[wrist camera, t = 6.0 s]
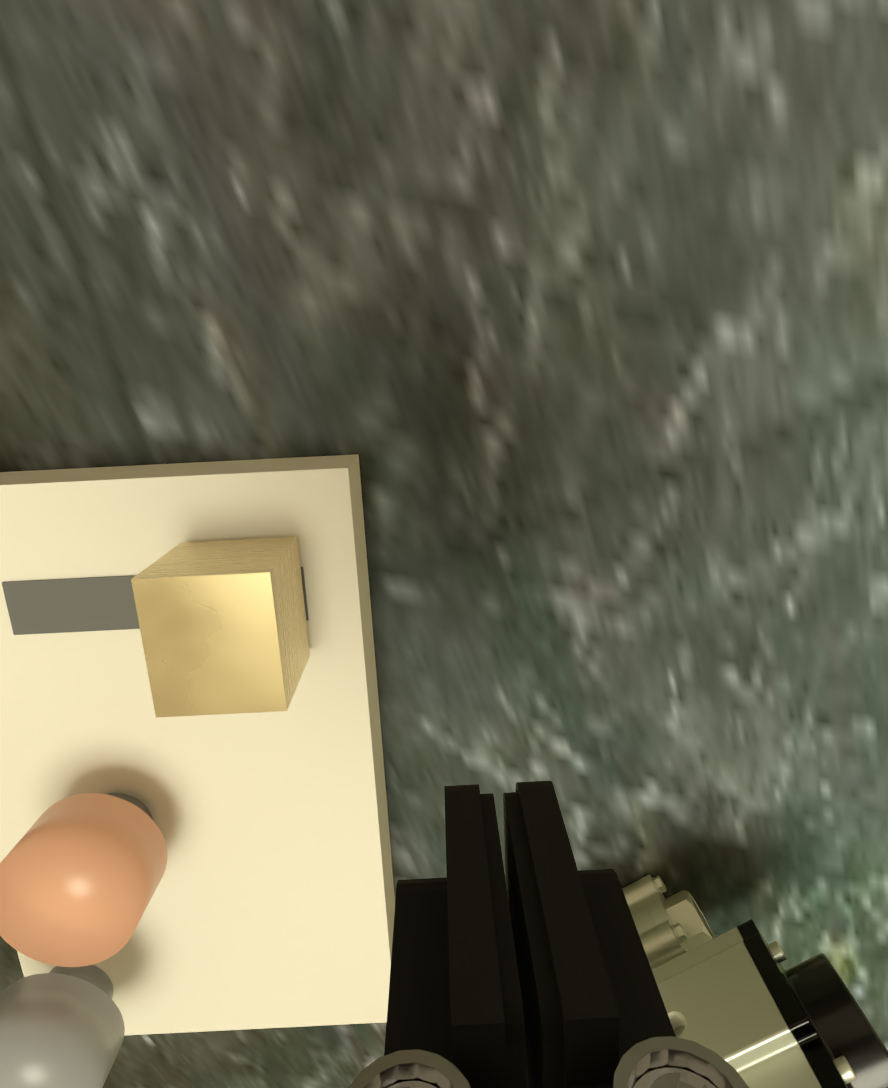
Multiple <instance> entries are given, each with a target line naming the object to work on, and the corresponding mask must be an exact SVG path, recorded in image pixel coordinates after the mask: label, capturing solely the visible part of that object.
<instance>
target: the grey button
mask: <svg viewBox="0 0 888 1088" xmlns="http://www.w3.org/2000/svg"><path fill="white" fill-rule="evenodd" d="M113 993H114V989H113V984H112V981H111V979H110V978H109V976H108V975H107V974H106V973H105V972H104V971H103V970H102V969H100V968H99V967H97V966H95V965H88V966H81V967H61V966H56V967H54V968H53V969H52V970H51V971H50V972H49V973H43V974H35V975H30V976H27V977H24V978H21V979H19V980H17V981H15V982H13V983H12V984H10V985H9V986H8V987H6V988H5V989H4V990H3V991H2V993H1V994H0V1088H102V1087H103V1085H104V1083H105V1080H106V1078H107V1076H108V1074H109V1072H110V1069H111V1067H112V1065H113V1063H114V1061H115V1058H116V1056H117V1054H118V1052H119V1050H120V1047H121V1045H122V1042H123V1039H124V1033H125V1027H124V1021H123V1017H122V1014H121V1012H120V1010H119V1008H118V1007H117V1005H116V1004H115V1002H114V1001H113V1000H112V997H113Z"/></svg>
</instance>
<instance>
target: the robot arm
mask: <svg viewBox="0 0 888 1088" xmlns="http://www.w3.org/2000/svg"><path fill="white" fill-rule="evenodd" d="M503 801H504V835H505V869H506V881H505V874H504V867H503V860H502V853H501V846H500V839H499V832H498V825H497V817H496V810H495V803H494V796H493V794H480V790H479V784H478V785H459V786H445V821H446V859H447V878H431V879H412V880H398V882H397V888H396V900H395V914H394V928H393V942H392V955H391V969H390V983H389V997H388V1011H387V1025H386V1039H385V1053H384V1056H383V1057H380V1058H378V1059H377V1060H375V1061H374V1062H373V1063H371V1064H370V1065H369V1066H367V1067H366V1068H365V1069H363V1070H362V1071H361V1072H360V1073H359V1075H358V1076H357V1077H356V1078H355V1080H354V1081H353V1082H352V1084H351V1085H350V1086H349V1087H348V1088H749V1087H748V1085H747V1084H746V1083H745V1081H744V1080H743V1079H742V1077H741V1076H740V1075H739V1073H738V1072H737V1071H736V1069H735V1068H734V1067H732V1066H731V1065H730V1064H729V1063H728V1062H727V1061H725V1060H724V1059H723V1058H722V1057H721V1056H719V1055H718V1054H717V1053H716V1052H714V1051H712V1050H710V1049H708V1048H706V1047H704V1046H702V1045H700V1044H699V1043H697V1042H695V1041H691V1040H687V1039H682V1038H678V1037H676V1035H675V1033H674V1030H673V1027H672V1024H671V1022H670V1019H669V1016H668V1013H667V1011H666V1008H665V1005H664V1002H663V1000H662V997H661V994H660V991H659V989H658V986H657V983H656V980H655V978H654V975H653V972H652V969H651V967H650V964H649V961H648V958H647V956H646V953H645V950H644V947H643V945H642V942H641V939H640V936H639V934H638V931H637V928H636V925H635V923H634V920H633V917H632V914H631V912H630V909H629V906H628V903H627V901H626V898H625V895H624V892H623V890H622V887H621V884H620V881H619V879H618V877H617V875H616V873H615V871H614V870H613V869H606V870H587V871H578V870H577V867H576V863H575V860H574V856H573V853H572V849H571V846H570V842H569V839H568V835H567V832H566V828H565V825H564V821H563V818H562V815H561V811H560V808H559V804H558V801H557V797H556V794H555V790H554V787H553V784H552V782H551V781H537V782H518V783H516V792H513V793H504V796H503Z"/></svg>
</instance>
